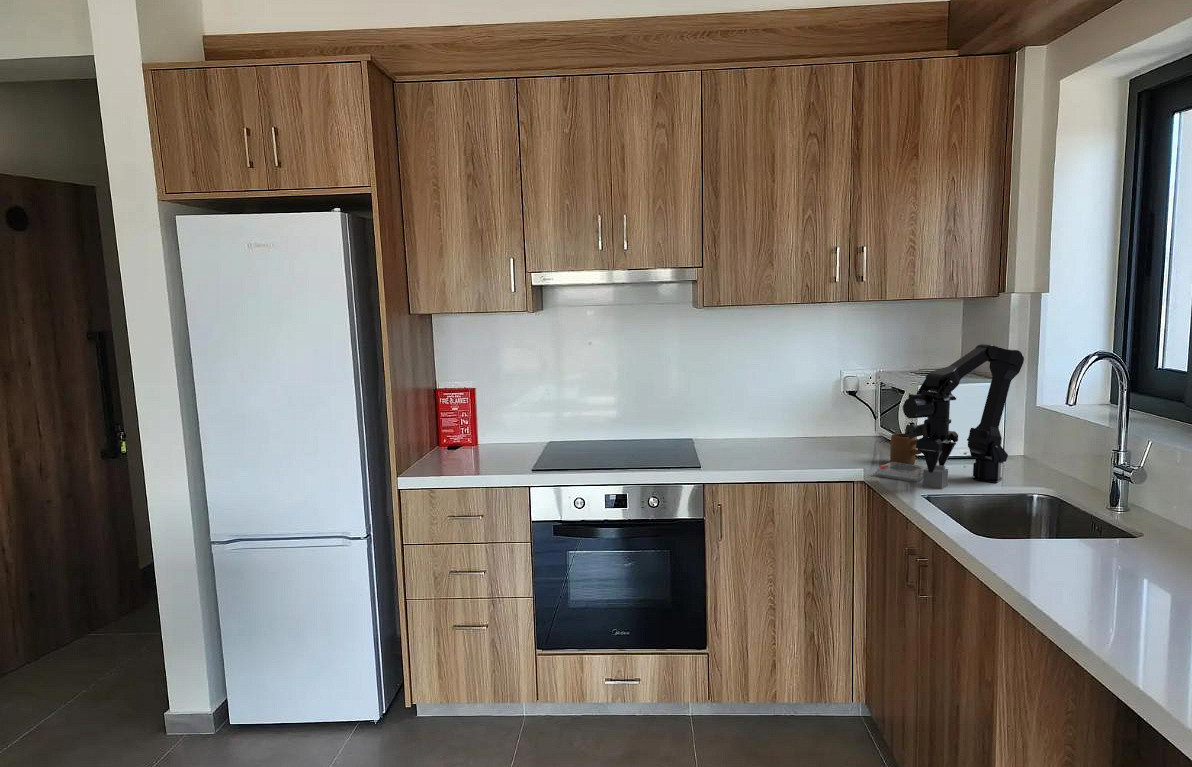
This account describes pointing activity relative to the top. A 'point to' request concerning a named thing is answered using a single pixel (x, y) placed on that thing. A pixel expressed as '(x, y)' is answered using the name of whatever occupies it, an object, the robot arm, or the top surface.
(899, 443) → the mug
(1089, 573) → the top surface
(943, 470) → the plug
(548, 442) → the top surface
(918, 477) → the socket plate
